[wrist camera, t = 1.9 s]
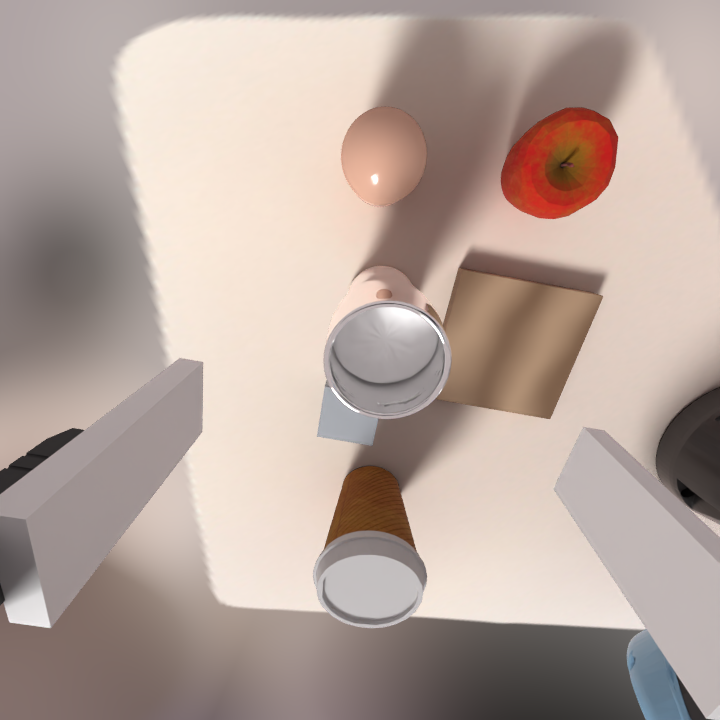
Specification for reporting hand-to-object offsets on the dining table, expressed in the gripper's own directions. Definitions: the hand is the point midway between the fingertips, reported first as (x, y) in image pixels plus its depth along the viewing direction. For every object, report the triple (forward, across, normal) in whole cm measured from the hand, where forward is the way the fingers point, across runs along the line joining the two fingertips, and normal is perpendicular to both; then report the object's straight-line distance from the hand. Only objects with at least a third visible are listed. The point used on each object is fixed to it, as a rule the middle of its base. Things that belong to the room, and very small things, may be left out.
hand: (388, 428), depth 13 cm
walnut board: (+21, -12, +2) cm, 25 cm away
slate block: (+21, +1, +10) cm, 23 cm away
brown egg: (+21, +2, -10) cm, 24 cm away
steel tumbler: (+21, 0, 0) cm, 21 cm away
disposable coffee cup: (+21, -3, +21) cm, 30 cm away
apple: (+21, -10, -12) cm, 26 cm away
